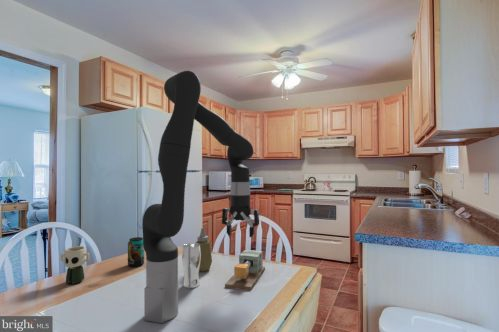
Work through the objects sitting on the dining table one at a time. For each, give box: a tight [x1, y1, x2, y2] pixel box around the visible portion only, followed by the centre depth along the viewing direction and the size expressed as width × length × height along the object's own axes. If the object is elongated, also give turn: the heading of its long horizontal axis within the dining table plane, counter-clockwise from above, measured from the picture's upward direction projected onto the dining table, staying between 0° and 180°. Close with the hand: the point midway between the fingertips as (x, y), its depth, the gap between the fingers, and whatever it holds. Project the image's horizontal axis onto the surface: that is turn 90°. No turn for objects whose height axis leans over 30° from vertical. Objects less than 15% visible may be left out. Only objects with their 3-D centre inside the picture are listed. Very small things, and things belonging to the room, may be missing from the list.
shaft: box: [233, 260, 253, 279], centre depth 117 cm, size 22×4×4 cm, turn 163°
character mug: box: [60, 245, 90, 285], centre depth 111 cm, size 11×7×13 cm, turn 91°
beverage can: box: [127, 236, 145, 268], centre depth 130 cm, size 7×7×12 cm
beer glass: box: [181, 242, 201, 289], centre depth 108 cm, size 7×7×15 cm
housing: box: [224, 249, 266, 291], centre depth 115 cm, size 22×10×8 cm, turn 163°
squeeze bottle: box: [195, 227, 213, 272], centre depth 124 cm, size 8×8×18 cm
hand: (240, 236), depth 109 cm, fingers open, 8 cm apart
